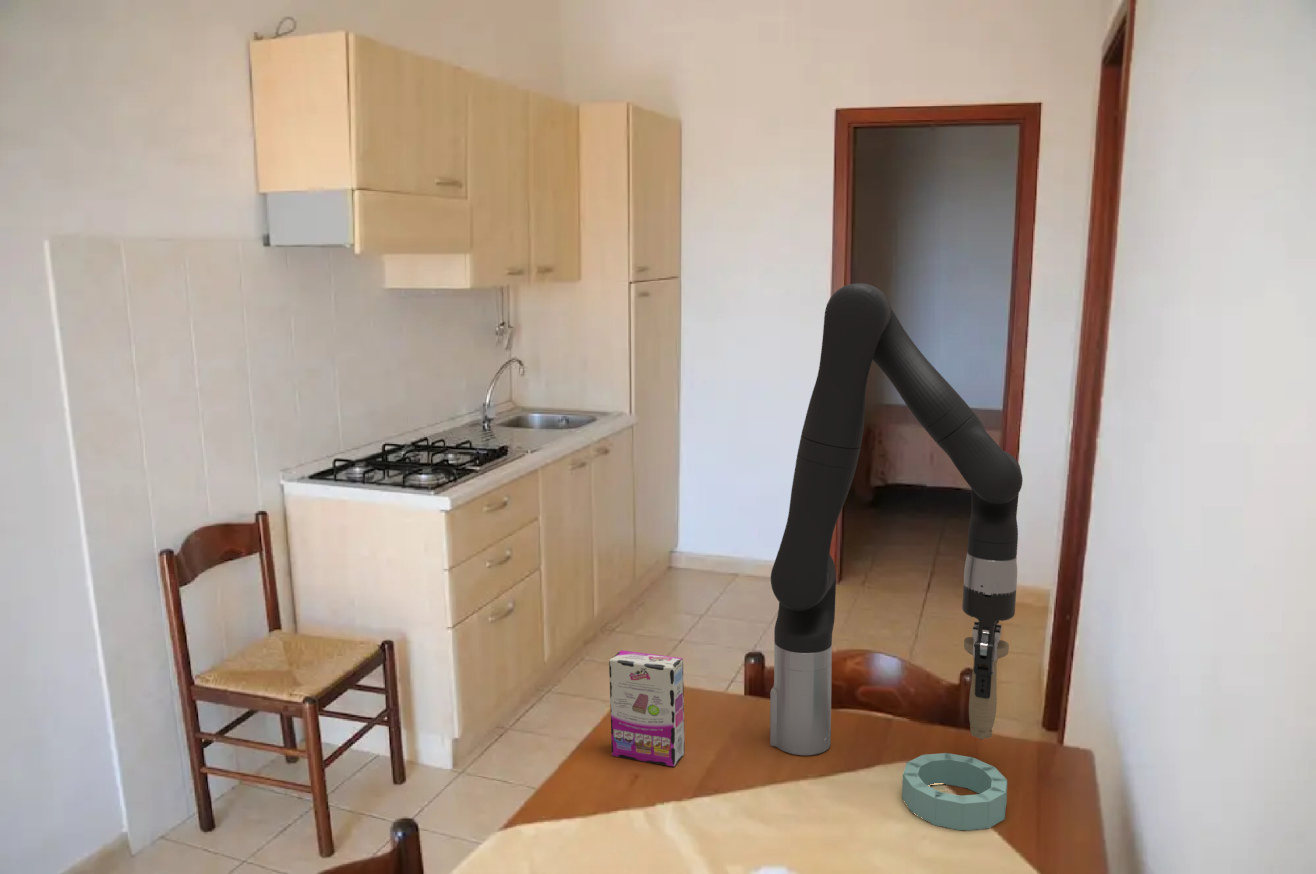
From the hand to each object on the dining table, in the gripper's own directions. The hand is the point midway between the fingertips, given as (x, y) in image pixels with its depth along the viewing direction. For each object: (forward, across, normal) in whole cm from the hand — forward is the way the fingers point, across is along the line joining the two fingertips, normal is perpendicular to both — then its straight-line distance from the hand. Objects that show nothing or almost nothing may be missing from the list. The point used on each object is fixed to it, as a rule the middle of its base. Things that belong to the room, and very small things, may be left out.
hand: (983, 691), depth 145 cm
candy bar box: (+14, +15, -50) cm, 54 cm away
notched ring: (+13, +12, -2) cm, 18 cm away
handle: (+7, 0, 0) cm, 7 cm away
